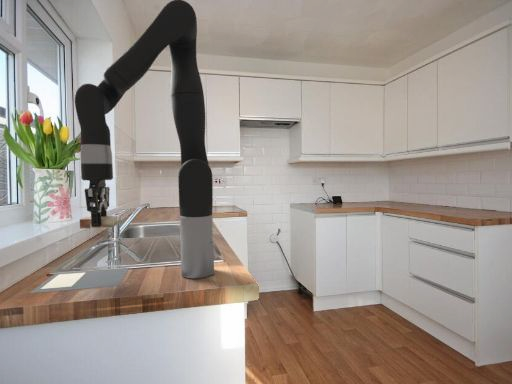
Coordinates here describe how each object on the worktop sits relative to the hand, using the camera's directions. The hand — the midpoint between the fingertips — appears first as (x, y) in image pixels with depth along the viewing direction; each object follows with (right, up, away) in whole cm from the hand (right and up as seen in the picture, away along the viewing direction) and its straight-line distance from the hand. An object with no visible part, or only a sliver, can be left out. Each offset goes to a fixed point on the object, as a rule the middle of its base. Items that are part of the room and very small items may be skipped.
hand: (99, 224), depth 80 cm
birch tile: (0, 0, 0) cm, 0 cm away
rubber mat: (-4, -15, 0) cm, 16 cm away
